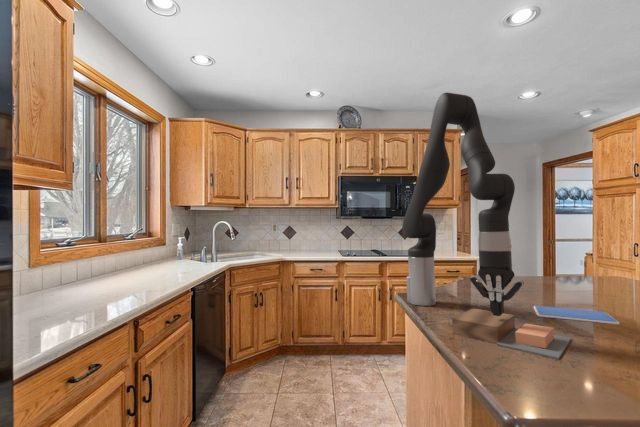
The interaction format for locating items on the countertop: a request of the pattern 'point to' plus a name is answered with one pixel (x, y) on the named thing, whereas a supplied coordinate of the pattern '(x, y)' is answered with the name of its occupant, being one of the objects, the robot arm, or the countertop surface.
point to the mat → (551, 351)
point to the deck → (483, 325)
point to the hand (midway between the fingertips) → (497, 315)
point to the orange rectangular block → (534, 335)
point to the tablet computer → (575, 314)
